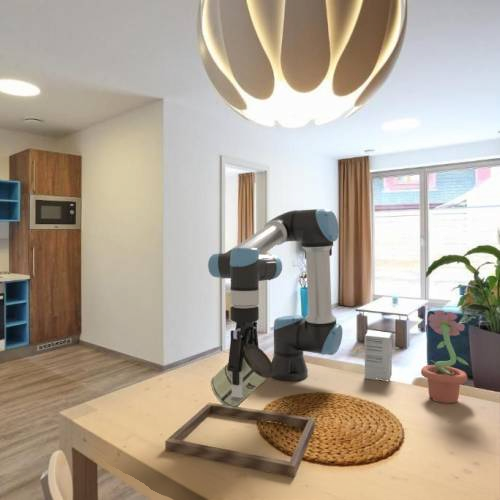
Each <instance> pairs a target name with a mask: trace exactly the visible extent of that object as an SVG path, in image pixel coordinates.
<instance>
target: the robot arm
mask: <svg viewBox="0 0 500 500" xmlns="http://www.w3.org/2000/svg"><path fill="white" fill-rule="evenodd" d="M339 234H340V227H339V221H338V218H337V216H336V214H335V213H334V212H333V211H332V210H331V209H329V208H327V209H326V208H316V209H299V210H298V209H297V210H296V209H295V210H290V211H287V212H284V213H281V214H280V215H277V216H276V217H274V218H272V219H270V220H269V221H268V222H266V223H265V224H264V227H263V228H262V229H260V230H258V231H257V232H256V233H253V235H251V236H249V237H248V238H246V239H245V240H243V241H242V242H240V243H239V244H237V245H236V246H235V247H233V248H231V249H229V250H228V251H226V252H224V253H222V252H219V253H213V254H212V255H211V256H210V257H209V259H208V262H207V268H208V272H209V274H210V275H211V276H212V277H213V278H219V279H230V291H229V293H228V295H229V296H230V305H231V307H230V309H229V310H230V315H229V316H230V317H229V319H230V321H232V322H235V324H236V325H235V329H234V330H232V329H231V330H230V343H229V353H228V362H227V363H228V371H232V397H239V398H242V397H243V371H241V368H242V362H243V356H244V351H245V346H247V344H253V345H255V346H257V347H258V348H260V347H259V346H260V345H259V337H258V322H257V321H259V318H260V317H259V316H260V315H259V314H260V312H259V311H260V310H259V307H258V305H260V289H259V282H262V281H271V280H274V279H277V278H278V277H279V276H280V275H281V273H282V272H283V263H282V260H281V258H280V257H279V256H278V255H276V254H272V253H267V252H269V251H270V250H271V249H273V248H274V247H276V246H281V245H283V244H285V243H286V242H301V248H302V249H303V250H304V252H305V261H306V262H305V264H306V283H307V304H308V306H307V307H308V314H307V315H306V316H305V317H304V315H299V314H296V315H295V314H294V315H283V316H278V317H277V318H275V319H274V322H273V329H272V330H273V356H272V359H271V363H272V365H273V368H274V374H273V375H272V376H271V377H272V378H273V379H275V380H279V381H285V382H286V381H288V382H295V381H301V380H304V379H306V378H307V377H308V376H309V374H308V372H309V371H308V370H309V369H308V366H307V363H306V359H305V358H304V352H305V353H312V354H313V353H314V354H318V355H322V356H325V355H326V356H334V355H336V353H337V352H338V350H339V349H340V347H341V344H342V340H343V339H342V338H343V326H342V325H341V324H340V323H337V317H336V316H335V315H334V314H333V310H332V286H331V282H332V281H331V258H330V250H331V249H332V248H333V247H334V242H336V241H337V240H338V238H339ZM234 366H235V367H234ZM271 377H270V378H271Z"/></svg>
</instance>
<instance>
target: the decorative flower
mask: <svg viewBox="0 0 500 500" xmlns="http://www.w3.org/2000/svg"><path fill="white" fill-rule="evenodd" d="M433 313H434V314H432V313H430V314H429V315H428V317H427V318H428V321H429V322H428V325H429V327H430V328H431V329H432V330H433V331H434V332H435V333H437V334H439V335H441V336H443V341H440V342H439V343H438V344H437V347H436V349H442V348H444V346H445V347H446V349H447V352H448V354H449V357H450V359H449V360H439V361H434V360H431V359H429V361H430V362H432V363H434V364H427V365H425V366H422V368H421V370H420V374H421V376H422V377H424V378H426V379H427V385H428V395H429V397H430V398H431V399H432V400H434V401H436V402H439V403H442V404H443V403H444V404H454V403H457V402H458V400H459V397H460V388H461V387H460V385H461V384H464V383H467V381H468V375H467V373H466V372H465V371H463V370H461V369H459V368H455V367H453V366H454V365H455V364H456V363H457V361H458V363H460V364H463V365H467V366H469V363H468V362H467V361H466V360H464V359H463V358H461V357H459V356H457V355H456V352H455V350H454V347H453V344H452V342H451V338H450V336H451V337H452V336H459V335H460V334H461V333H460V332H463V331H465V328H466V327H465V324H463V323H457V322H456V321H455V320H456V319H457V318H458V315H457V314H456V313H454V312H451V311H447V312H446V311H445V310H442V309H437V310H434V312H433Z"/></svg>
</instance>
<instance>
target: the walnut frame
mask: <svg viewBox="0 0 500 500" xmlns="http://www.w3.org/2000/svg"><path fill="white" fill-rule="evenodd" d="M211 414H214V415H220V416H227V417H231V418H232V417H234V418H238V419H239V418H240V419H244V420H245V419H246V420H252V421H257V422H258V421H259V422H263V421H271V422H277V423H281V424H286V425H285V426H288V425H291V426H290V427H294V428H295V427H296V428H302V429H303V431H302V434H301V436H300V438H299V440H298V442H297V445H296V447H295V449H294V451H293V453H292V455H291V457H290V460H289V461H288V460H285V459H284V460H282V459H278V458H273V457H267V456H263V455H257V454H251V453H247V452H241V451H237V450H231V449H228V448H227V449H225V448H223V447H217V446H210V445H207V444H206V445H205V444H202V443H196V442H195V443H194V442H192V441H191V442H190V441H185V439H186V438H188V437H189V435H190V434H191V433H192V432H193V431H194V430H195V429H197V428H198V427H199V426H200V425H201V424H202V423H203V422H204V421H205V420H206V419H207V418H208V417H209V416H210V415H211ZM261 420H263V421H261ZM315 423H316V418H315V417H307V416H301V415H294V414H288V413H281V412H275V411H274V412H273V411H268V410H267V411H266V410H261V409H254V408H247V407H241V406H238V407H237V408H234V409H232V408H228V407H226V406H225V405H223V404H222V403H221V404H220V403H215V402H208V403H207V404H205V406H204V407H202V408H201V409H200V410H199V411H197V413H196V414H194V415H193V416H192V417H191V418H190V419H189V420H187V421H186V422H185V423H184V424H183V425H182V426H180V427H179V428H178V429H177V430H176V431H175V432H174V433H172V435H170V436H169V437H168V438H167V439H166V440H164V441H165V450H164V451H165V452H169V453H175V454H180V455H184V456H190V457H193V458H198V459H203V460H208V461H212V462H218V463H221V464H222V463H223V464H227V465H233V466H237V467H241V468H246V469H252V470H257V471H262V472H266V473H271V474H275V475H281V476H284V477H285V476H286V477H289V478H296V475H297V472H298V470H299V468H300V465H301V463H302V460H303V458H304V454H305V453H306V450H307V448H308V445H309V442H310V440H311V438H312V436H313V433H314V430H315V427H316V424H315ZM281 424H280V425H281Z"/></svg>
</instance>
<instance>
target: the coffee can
mask: <svg viewBox="0 0 500 500" xmlns="http://www.w3.org/2000/svg"><path fill="white" fill-rule="evenodd" d="M271 362H272V360H270V357H268V355H267V354H266V353H265V352H264V351H263V350H262V349H261V348H260V347H259V348H258V347H257V346H255V345H253V344H247V346H245V351H244V356H243V362H242V368H241V371H243V397H242V398H239V397H232V371H228V362H227V364H225V365H224V366H223V367H222V368H221V369H220V370H219V371H218V372H217V373H216V374H215V375H214V376H212V378H211V380H210V387H211V391H212V393H213V395H214V396H215V398H216V399H217V401H218V402H220V403H221V404H222V405H225V406H226V407H228V408H232V409H234V408H237V407H240V405H241V404H242V403H243V402H244V401H246V399H248V398H249V397H250V396H251V395H252V394H253V393H254V392H255V391H256V390H257V389H258V388H260V386H261V385H263V384H264V383H265V382H266V381H267V380H268V379H270V378H271V376H272V375H273V374H274V368H273V365H272V363H271ZM234 367H235V366H234Z"/></svg>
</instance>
